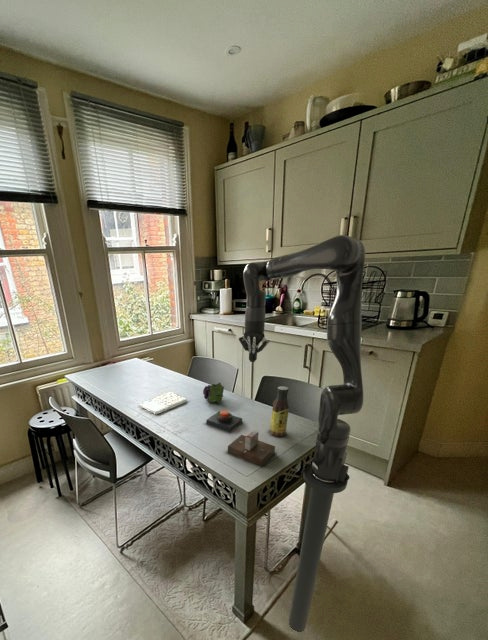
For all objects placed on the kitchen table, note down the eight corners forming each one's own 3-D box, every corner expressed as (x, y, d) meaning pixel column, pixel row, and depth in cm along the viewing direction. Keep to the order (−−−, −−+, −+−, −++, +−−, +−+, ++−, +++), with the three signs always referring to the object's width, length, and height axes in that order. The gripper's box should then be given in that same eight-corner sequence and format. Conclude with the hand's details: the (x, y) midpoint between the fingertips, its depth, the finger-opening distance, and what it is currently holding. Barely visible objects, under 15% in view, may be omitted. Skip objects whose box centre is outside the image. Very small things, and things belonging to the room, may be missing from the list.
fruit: (212, 400, 166) (230, 403, 153) (195, 402, 160) (212, 405, 148) (211, 381, 165) (230, 382, 152) (194, 382, 159) (212, 384, 147)
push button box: (242, 422, 137) (242, 414, 136) (230, 432, 130) (230, 424, 129) (219, 415, 144) (219, 407, 143) (206, 424, 137) (206, 416, 136)
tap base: (274, 452, 116) (275, 445, 115) (261, 466, 109) (262, 459, 108) (241, 440, 124) (241, 434, 123) (227, 452, 117) (227, 445, 116)
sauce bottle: (279, 438, 125) (284, 392, 116) (266, 432, 129) (270, 388, 121) (289, 433, 129) (294, 388, 120) (276, 427, 133) (280, 383, 125)
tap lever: (252, 441, 118) (253, 429, 116) (257, 443, 117) (258, 431, 115) (244, 448, 114) (245, 436, 112) (249, 450, 113) (250, 438, 111)
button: (230, 415, 136) (230, 411, 135) (225, 418, 134) (225, 415, 133) (223, 413, 138) (223, 409, 137) (218, 416, 136) (218, 412, 135)
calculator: (187, 401, 158) (187, 398, 158) (155, 415, 146) (155, 411, 146) (170, 394, 167) (170, 391, 167) (139, 406, 155) (138, 402, 155)
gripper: (275, 318, 120) (271, 361, 128) (244, 315, 128) (242, 356, 135) (266, 321, 115) (263, 366, 122) (235, 318, 123) (233, 361, 130)
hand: (252, 361), depth 129 cm, fingers closed
